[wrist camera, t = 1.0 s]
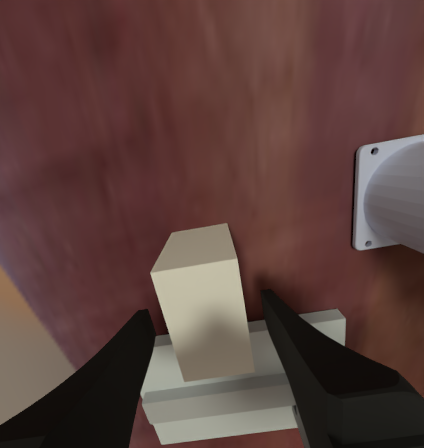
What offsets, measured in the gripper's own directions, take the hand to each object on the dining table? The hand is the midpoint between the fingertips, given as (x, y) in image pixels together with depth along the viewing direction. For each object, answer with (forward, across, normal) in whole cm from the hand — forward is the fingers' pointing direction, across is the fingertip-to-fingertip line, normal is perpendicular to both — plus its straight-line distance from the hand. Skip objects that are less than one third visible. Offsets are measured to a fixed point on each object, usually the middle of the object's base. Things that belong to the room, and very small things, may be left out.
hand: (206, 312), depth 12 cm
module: (+5, 0, 0) cm, 5 cm away
